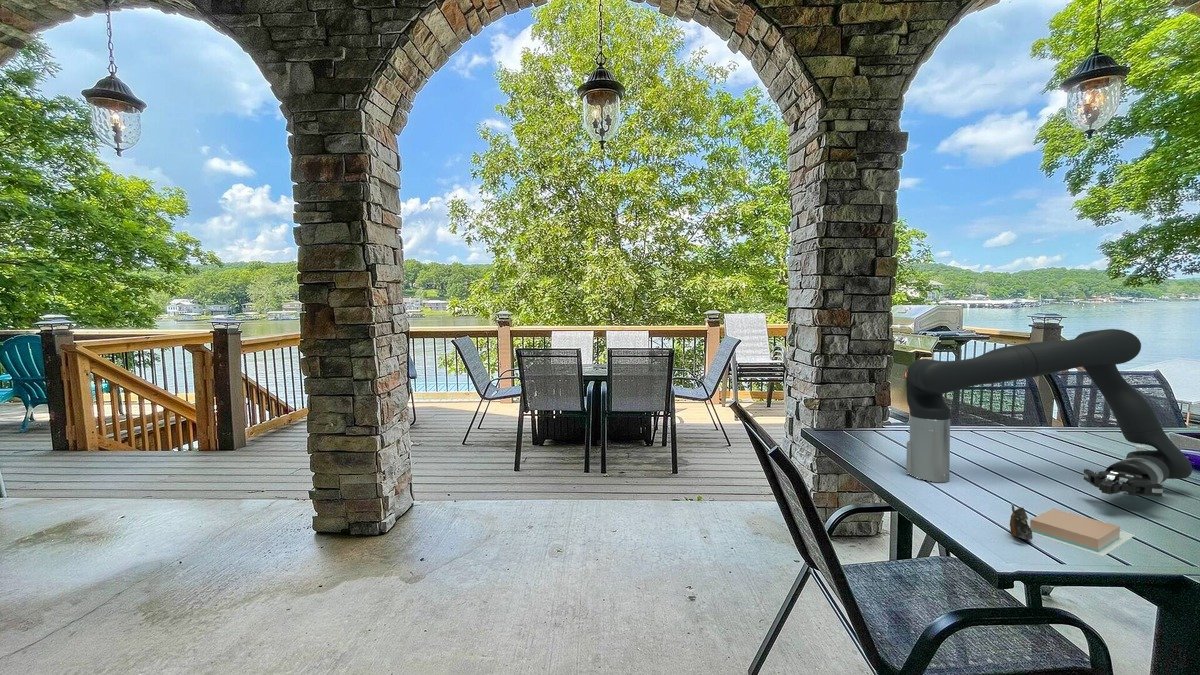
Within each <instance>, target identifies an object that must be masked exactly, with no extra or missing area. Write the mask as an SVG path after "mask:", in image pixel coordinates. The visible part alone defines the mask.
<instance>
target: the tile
mask: <svg viewBox="0 0 1200 675" xmlns="http://www.w3.org/2000/svg"><path fill="white" fill-rule="evenodd" d="M1029 524H1030V525H1029V526H1030V529H1031V531H1032V532H1035V533H1038V534H1041V535H1044V536H1047V537H1051V538H1054V539H1057V540H1060V541H1063V542H1067V543H1070V544H1073V545H1076V546H1079V547H1082V548H1086V549H1089V550H1092V551H1095V552H1100V551H1101V550H1103V549H1104V548H1106V547H1107V546H1109V545H1110V544H1112V543H1114V542H1115V541H1117V540H1118V539H1120V531H1121V526H1119V525H1115V524H1112V523H1108V522H1104V521H1101V520H1097V519H1094V518H1090V517H1088V516H1087V517H1086V516H1084V515H1083V516H1082V515H1079V514H1075V513H1072V512H1067V511H1064V510H1060V509H1056V508H1052V509H1049V510H1047V511H1045V512H1043V513H1041V514H1039V515H1037V516H1035V517H1033V518H1030V522H1029Z"/></svg>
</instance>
